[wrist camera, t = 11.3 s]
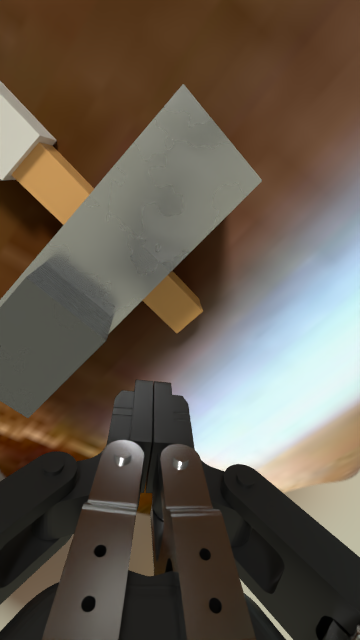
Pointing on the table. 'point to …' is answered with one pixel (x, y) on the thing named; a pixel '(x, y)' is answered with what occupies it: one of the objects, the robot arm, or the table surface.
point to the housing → (117, 248)
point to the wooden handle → (71, 195)
